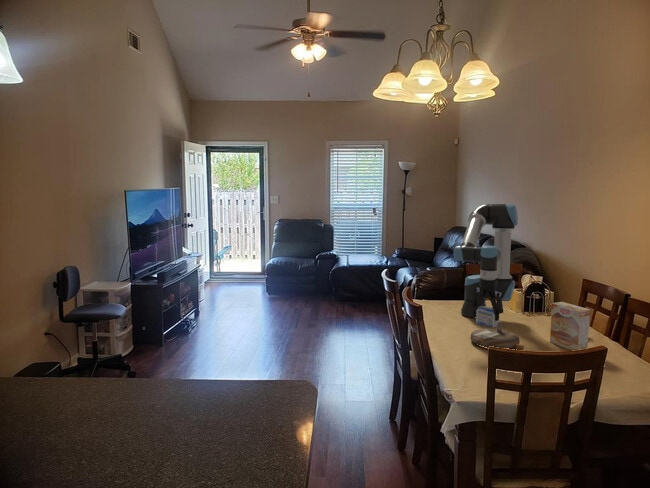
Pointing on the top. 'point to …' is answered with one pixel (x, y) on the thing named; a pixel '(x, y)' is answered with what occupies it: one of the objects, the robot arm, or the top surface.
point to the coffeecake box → (569, 326)
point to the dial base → (518, 347)
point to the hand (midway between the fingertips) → (486, 324)
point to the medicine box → (485, 316)
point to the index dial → (495, 337)
